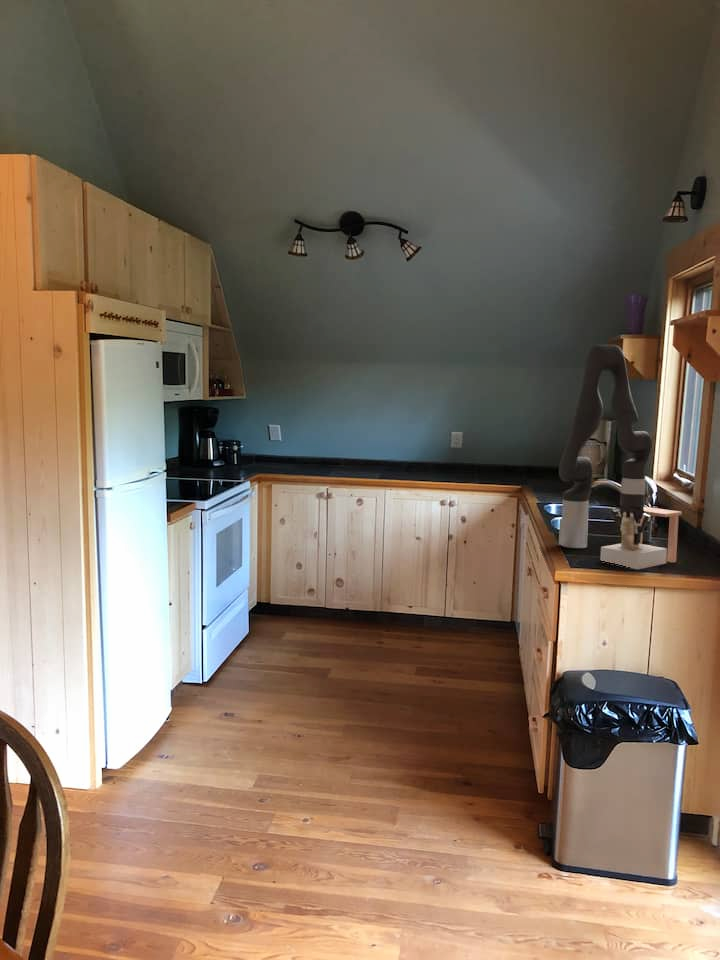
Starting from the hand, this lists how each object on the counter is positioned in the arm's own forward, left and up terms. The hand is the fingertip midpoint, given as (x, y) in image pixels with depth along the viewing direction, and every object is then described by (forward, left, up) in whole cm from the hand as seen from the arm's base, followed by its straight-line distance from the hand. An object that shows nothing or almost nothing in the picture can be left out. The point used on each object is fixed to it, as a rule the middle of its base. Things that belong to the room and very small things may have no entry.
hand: (630, 543), depth 243 cm
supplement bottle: (-21, +38, -7) cm, 44 cm away
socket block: (0, +2, -7) cm, 7 cm away
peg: (0, 0, -3) cm, 3 cm away
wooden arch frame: (0, +11, -7) cm, 13 cm away
